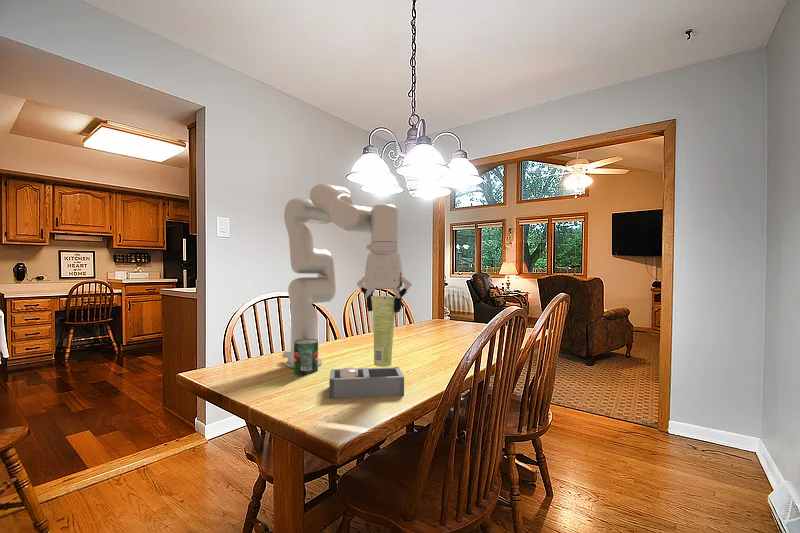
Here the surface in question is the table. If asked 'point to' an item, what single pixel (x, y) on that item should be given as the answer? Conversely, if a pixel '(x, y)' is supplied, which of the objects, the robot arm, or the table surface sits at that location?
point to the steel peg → (349, 373)
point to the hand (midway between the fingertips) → (383, 311)
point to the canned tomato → (305, 357)
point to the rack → (367, 383)
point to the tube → (383, 329)
